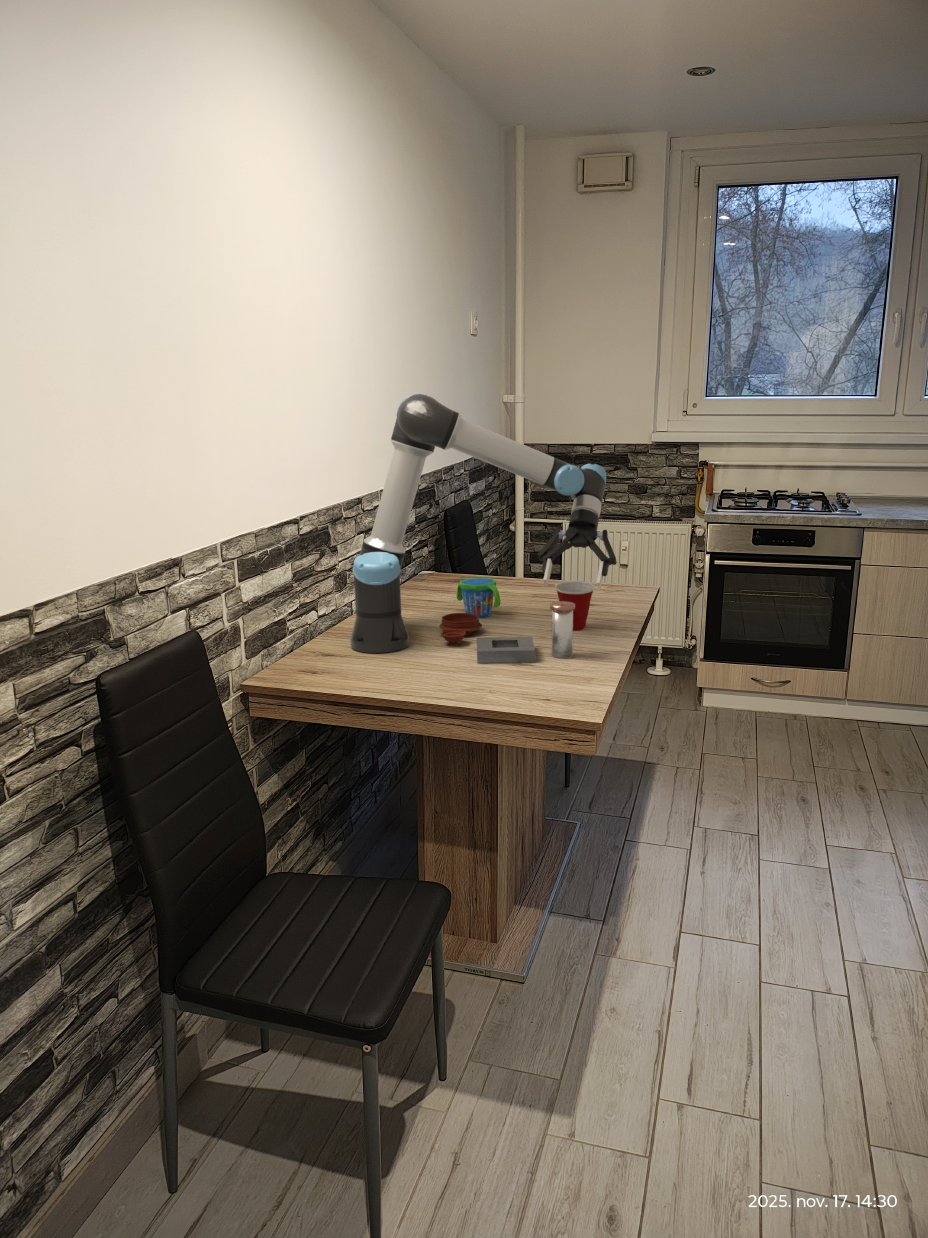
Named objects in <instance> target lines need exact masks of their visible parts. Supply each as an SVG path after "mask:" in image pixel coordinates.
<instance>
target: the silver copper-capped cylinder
mask: <svg viewBox="0 0 928 1238" xmlns="http://www.w3.org/2000/svg"><path fill="white" fill-rule="evenodd" d="M549 606H550V607H549V609H550V610H551V611H552V614H551V615H552V617H551V625H552V626H551V656H552V657H553V658H555V659H570V658H572V657H573V649H574V648H573V645H574V644H573V643H574V642H573V641H574V639H573V637H574V636H573V635H574V633H573V632H574V630H573V610H574V609H575V604H574V603H572V602H565V601H559V600H558V601H553V602H551V603H550V604H549Z"/></svg>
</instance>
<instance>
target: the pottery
mask: <svg viewBox="0 0 928 1238" xmlns="http://www.w3.org/2000/svg"><path fill="white" fill-rule="evenodd" d="M482 627H483V624H482V623H481V622H480V617H479V616H478V615H475V614H471V613H465V612H455V613H454V612H453V613H448V614H444V615H443V616H441V622H440V624H439V625H438V628H439V629H441V630H443V631H441V637H442V638H443V639H444V640H445V641H446V642H448V643H447V645H448V646H459V645H460V642H461V641H463V640H464V637H465V636H468V635H471V634H472V632H473V631H477V630H479V629H481V628H482Z"/></svg>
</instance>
